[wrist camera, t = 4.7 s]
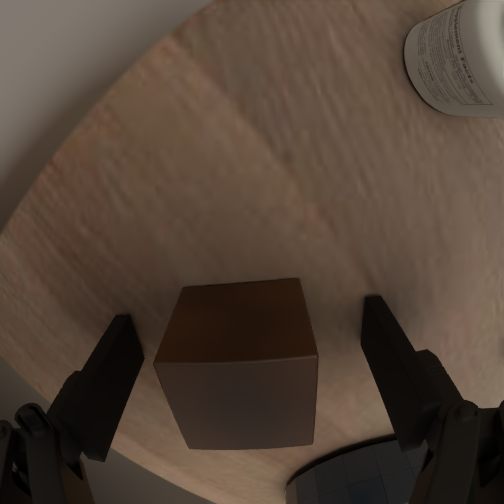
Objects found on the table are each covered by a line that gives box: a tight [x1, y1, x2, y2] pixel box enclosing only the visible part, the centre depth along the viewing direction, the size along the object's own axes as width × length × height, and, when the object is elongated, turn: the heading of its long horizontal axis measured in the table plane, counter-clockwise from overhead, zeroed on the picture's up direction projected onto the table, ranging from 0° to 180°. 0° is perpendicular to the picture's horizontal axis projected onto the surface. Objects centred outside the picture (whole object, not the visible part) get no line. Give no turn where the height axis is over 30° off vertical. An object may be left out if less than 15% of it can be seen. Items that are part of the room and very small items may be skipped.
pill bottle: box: [404, 0, 504, 119], centre depth 6 cm, size 4×4×8 cm
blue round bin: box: [285, 440, 428, 504], centre depth 18 cm, size 14×14×6 cm
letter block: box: [153, 279, 319, 450], centre depth 12 cm, size 5×5×5 cm
